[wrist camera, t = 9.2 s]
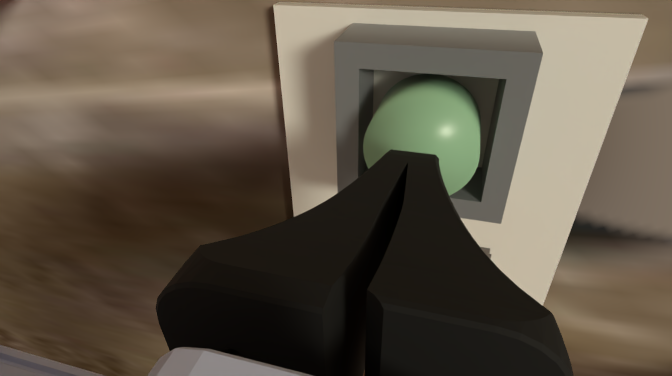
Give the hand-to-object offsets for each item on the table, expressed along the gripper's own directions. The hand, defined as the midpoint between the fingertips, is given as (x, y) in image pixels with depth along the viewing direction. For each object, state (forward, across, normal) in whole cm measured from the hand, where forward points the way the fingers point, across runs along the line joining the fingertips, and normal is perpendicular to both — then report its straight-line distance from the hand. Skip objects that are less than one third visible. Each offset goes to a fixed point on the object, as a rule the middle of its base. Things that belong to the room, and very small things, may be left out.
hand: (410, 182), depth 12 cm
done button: (+4, 0, 0) cm, 4 cm away
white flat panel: (+6, 0, +8) cm, 10 cm away
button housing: (+5, 0, 0) cm, 5 cm away
